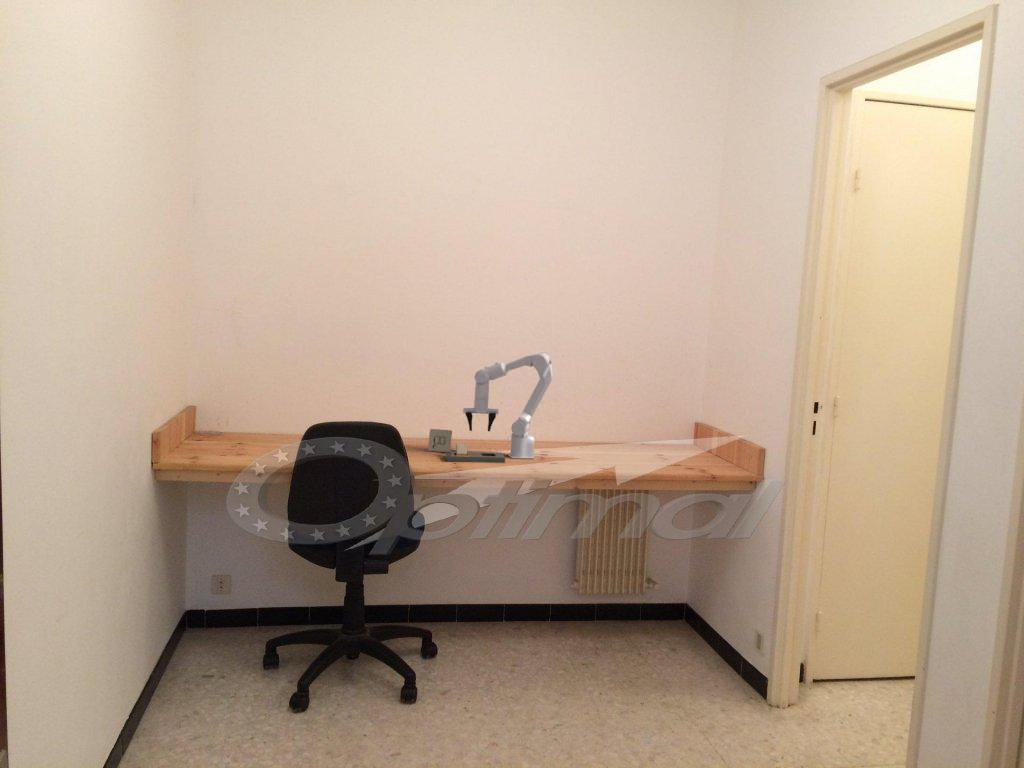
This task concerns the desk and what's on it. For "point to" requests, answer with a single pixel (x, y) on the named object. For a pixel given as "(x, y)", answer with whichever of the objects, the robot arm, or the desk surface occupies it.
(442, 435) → the electrical switch
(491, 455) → the grey board with holes
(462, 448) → the peg
